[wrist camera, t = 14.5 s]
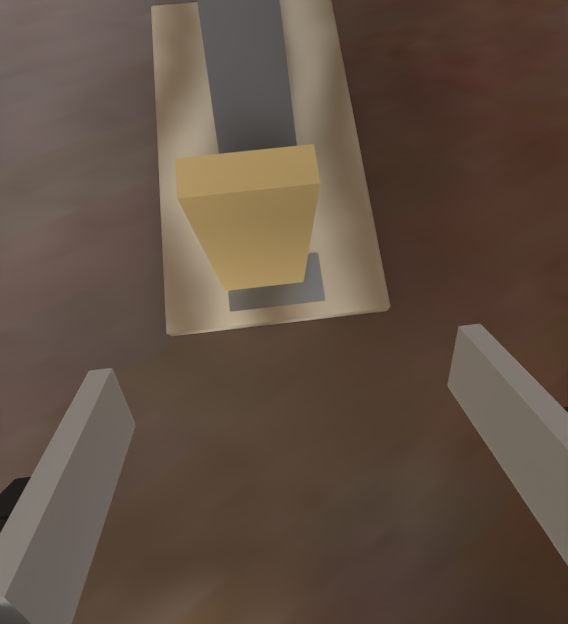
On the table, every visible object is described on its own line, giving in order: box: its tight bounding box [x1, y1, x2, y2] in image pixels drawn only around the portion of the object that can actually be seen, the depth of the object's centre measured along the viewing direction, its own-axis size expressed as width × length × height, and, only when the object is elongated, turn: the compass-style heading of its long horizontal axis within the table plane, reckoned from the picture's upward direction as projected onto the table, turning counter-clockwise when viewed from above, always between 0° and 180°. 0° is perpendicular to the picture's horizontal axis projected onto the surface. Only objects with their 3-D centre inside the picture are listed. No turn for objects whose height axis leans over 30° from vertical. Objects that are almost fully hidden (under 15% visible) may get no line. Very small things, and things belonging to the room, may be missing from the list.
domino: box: [197, 0, 297, 154], centre depth 24 cm, size 5×2×11 cm
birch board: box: [151, 0, 390, 336], centre depth 27 cm, size 14×26×1 cm, turn 7°
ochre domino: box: [175, 144, 320, 291], centre depth 19 cm, size 5×2×11 cm, turn 97°
